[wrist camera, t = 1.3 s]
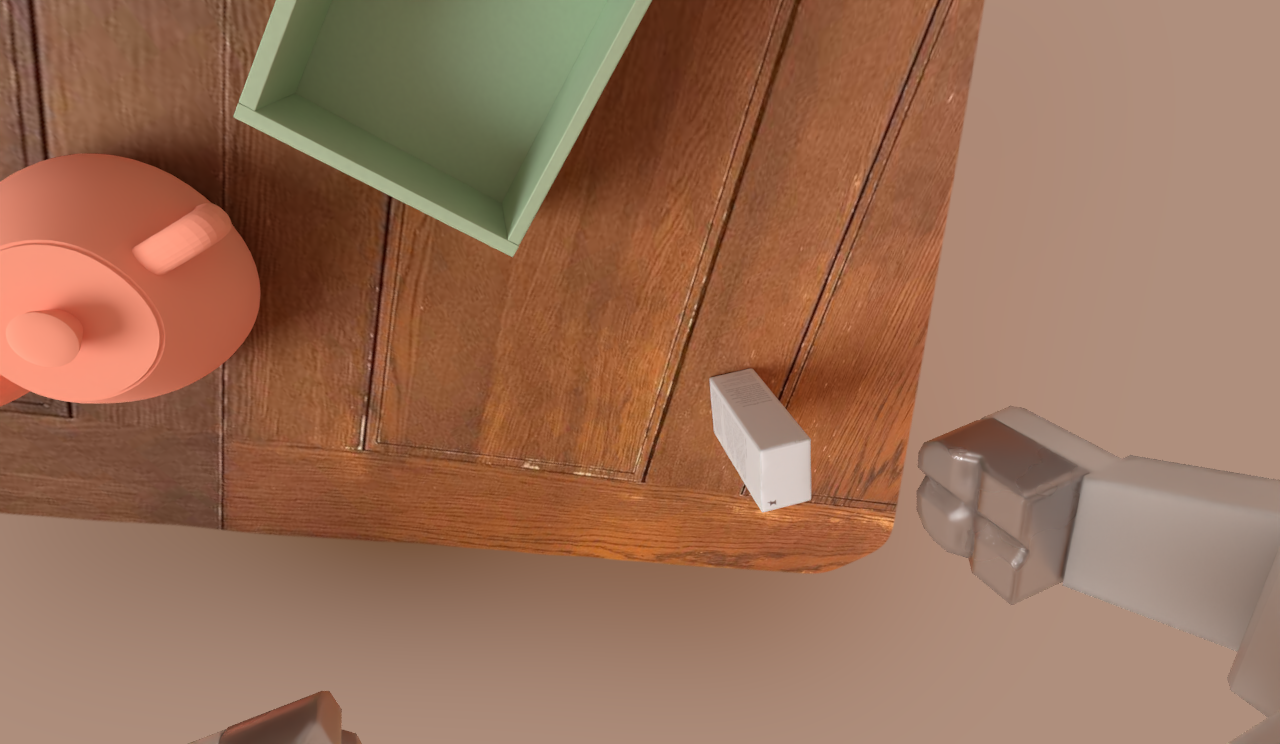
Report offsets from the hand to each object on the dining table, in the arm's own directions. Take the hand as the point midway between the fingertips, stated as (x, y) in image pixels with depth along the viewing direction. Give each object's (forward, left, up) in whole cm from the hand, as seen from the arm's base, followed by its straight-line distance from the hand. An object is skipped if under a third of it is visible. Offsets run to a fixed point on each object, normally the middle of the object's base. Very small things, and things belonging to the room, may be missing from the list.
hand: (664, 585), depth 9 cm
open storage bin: (-3, -5, -43) cm, 43 cm away
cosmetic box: (+11, +28, -43) cm, 53 cm away
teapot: (+21, -17, -43) cm, 51 cm away
